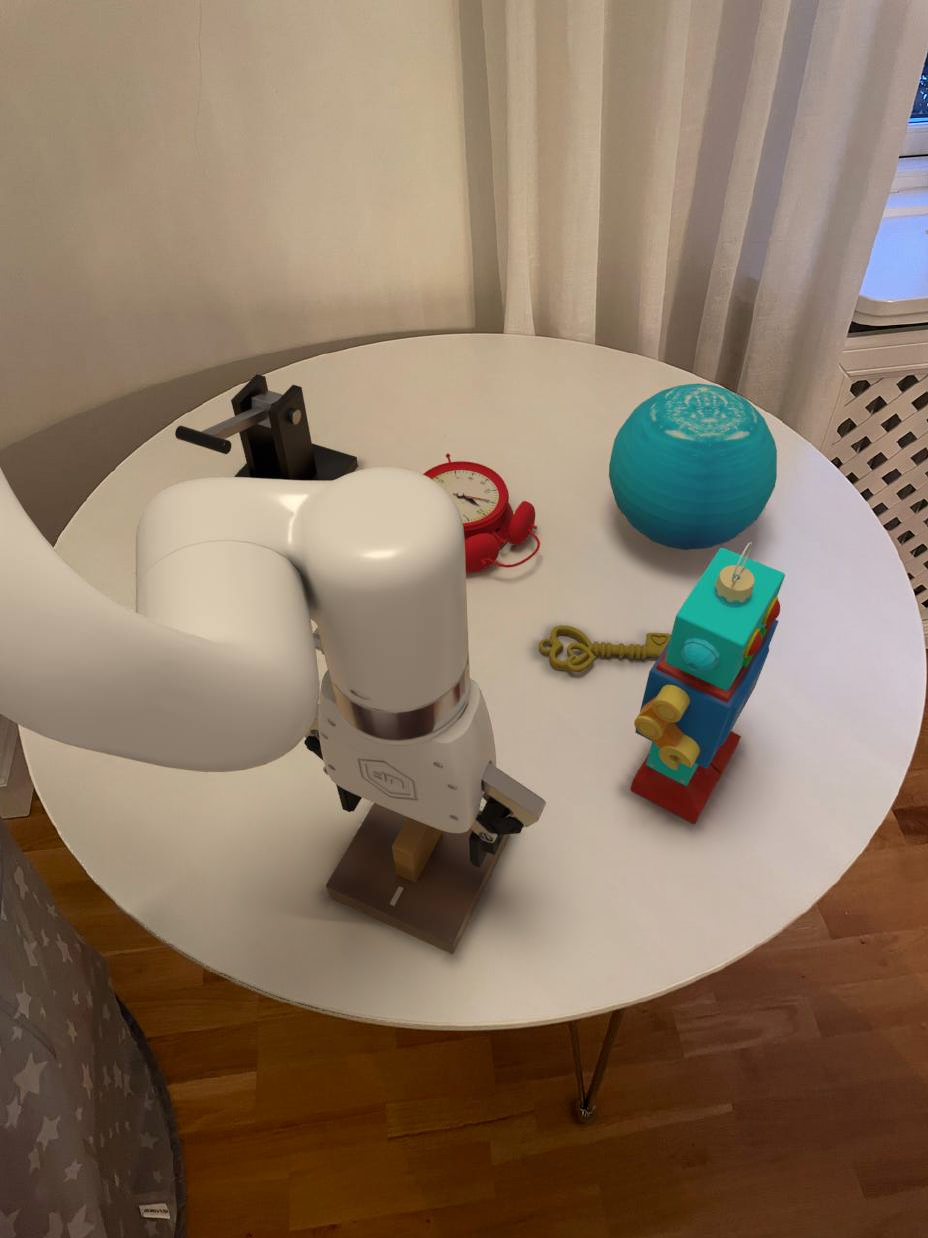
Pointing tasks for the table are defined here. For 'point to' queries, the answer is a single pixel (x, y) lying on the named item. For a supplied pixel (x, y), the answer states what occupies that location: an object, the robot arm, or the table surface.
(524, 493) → the table surface
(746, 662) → the toy robot
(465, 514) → the alarm clock
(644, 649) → the key
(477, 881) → the plate
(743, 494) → the decorative orb
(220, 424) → the door lever
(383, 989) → the table surface
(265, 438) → the black handle mount
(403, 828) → the thumbturn
